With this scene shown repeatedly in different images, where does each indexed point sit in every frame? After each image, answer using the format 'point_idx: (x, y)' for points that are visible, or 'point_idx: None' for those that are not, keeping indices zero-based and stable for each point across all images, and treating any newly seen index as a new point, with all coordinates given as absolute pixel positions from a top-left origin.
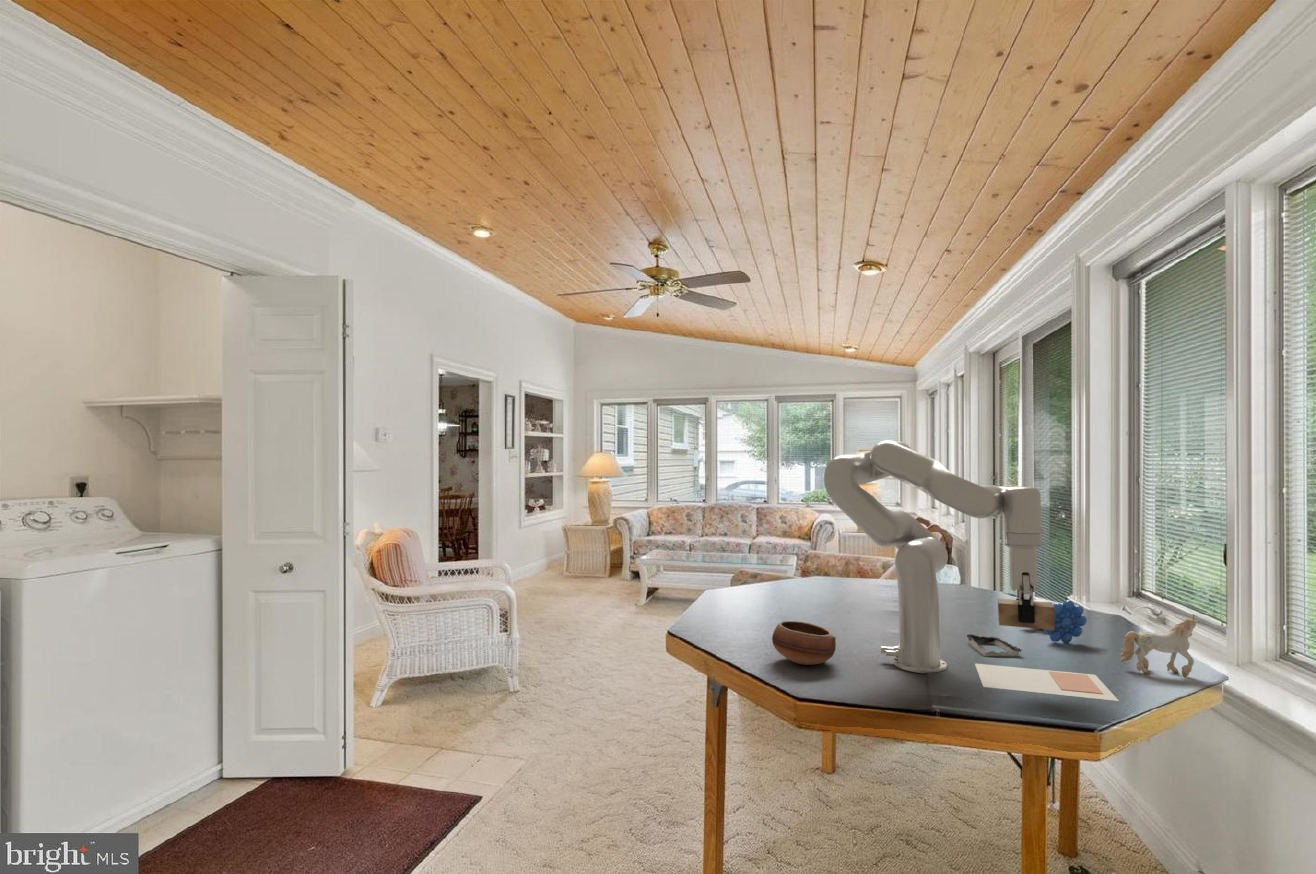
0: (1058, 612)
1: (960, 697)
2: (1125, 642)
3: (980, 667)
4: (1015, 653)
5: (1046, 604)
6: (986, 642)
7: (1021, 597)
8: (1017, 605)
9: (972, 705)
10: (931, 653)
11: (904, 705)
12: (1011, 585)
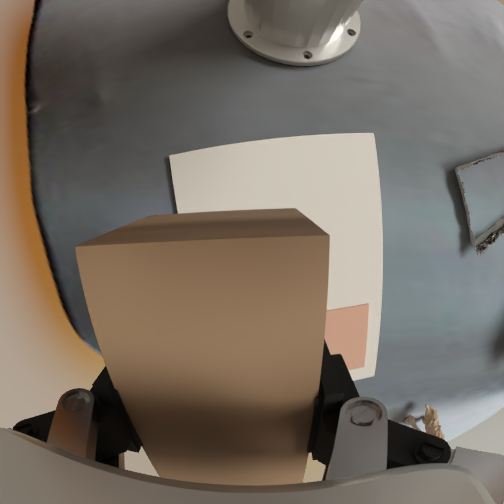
0: None
1: (100, 122)
2: (434, 434)
3: (343, 144)
4: (472, 238)
5: None
6: None
7: (19, 423)
8: (114, 377)
9: (69, 152)
10: (257, 13)
11: (41, 63)
12: (2, 463)
